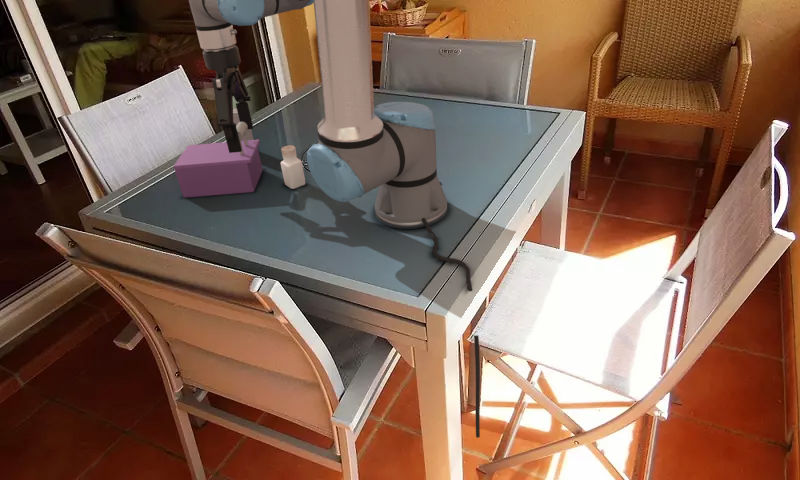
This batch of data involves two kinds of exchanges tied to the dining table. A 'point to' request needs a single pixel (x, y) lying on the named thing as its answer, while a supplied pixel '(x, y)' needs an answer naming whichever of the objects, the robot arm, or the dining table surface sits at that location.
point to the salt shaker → (292, 168)
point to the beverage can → (236, 121)
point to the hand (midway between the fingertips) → (241, 139)
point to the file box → (220, 178)
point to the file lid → (218, 152)
